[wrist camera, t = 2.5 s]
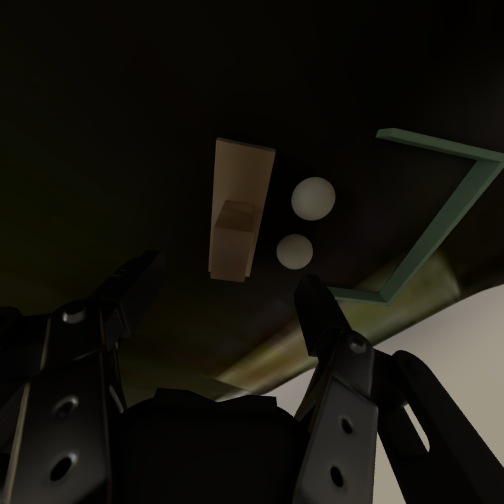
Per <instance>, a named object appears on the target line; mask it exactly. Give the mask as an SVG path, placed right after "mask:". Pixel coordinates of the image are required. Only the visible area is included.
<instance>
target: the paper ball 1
mask: <svg viewBox="0 0 504 504" xmlns="http://www.w3.org/2000/svg"><path fill="white" fill-rule="evenodd" d="M312 254H313V249H312V245H311V243H310V242H309V240H308V239H307V238H305V237H304V236H302V235H299V234H290V235H287V236H285V237H284V238H283V239H282V240H281V241H280V242H279V244H278V246H277V257H278V259H279V261H280V262H281V263H282V264H283V265H284V266H285V267H287V268H290V269H299V268H302V267H304V266H306V265H307V264H308V263H309V262H310V260H311V258H312Z"/></svg>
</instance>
